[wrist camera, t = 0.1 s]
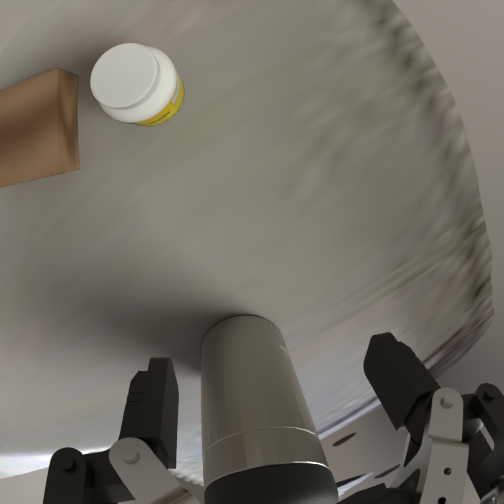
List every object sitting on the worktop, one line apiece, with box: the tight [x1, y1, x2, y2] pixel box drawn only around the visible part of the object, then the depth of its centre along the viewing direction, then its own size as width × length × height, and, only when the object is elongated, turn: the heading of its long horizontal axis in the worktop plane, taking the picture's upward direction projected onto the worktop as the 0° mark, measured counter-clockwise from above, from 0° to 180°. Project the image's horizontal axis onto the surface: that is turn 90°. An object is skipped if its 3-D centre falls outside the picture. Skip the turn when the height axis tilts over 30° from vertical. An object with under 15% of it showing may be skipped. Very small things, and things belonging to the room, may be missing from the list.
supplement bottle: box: [90, 43, 184, 126], centre depth 17 cm, size 5×5×10 cm
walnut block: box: [0, 68, 80, 188], centre depth 19 cm, size 9×9×4 cm
